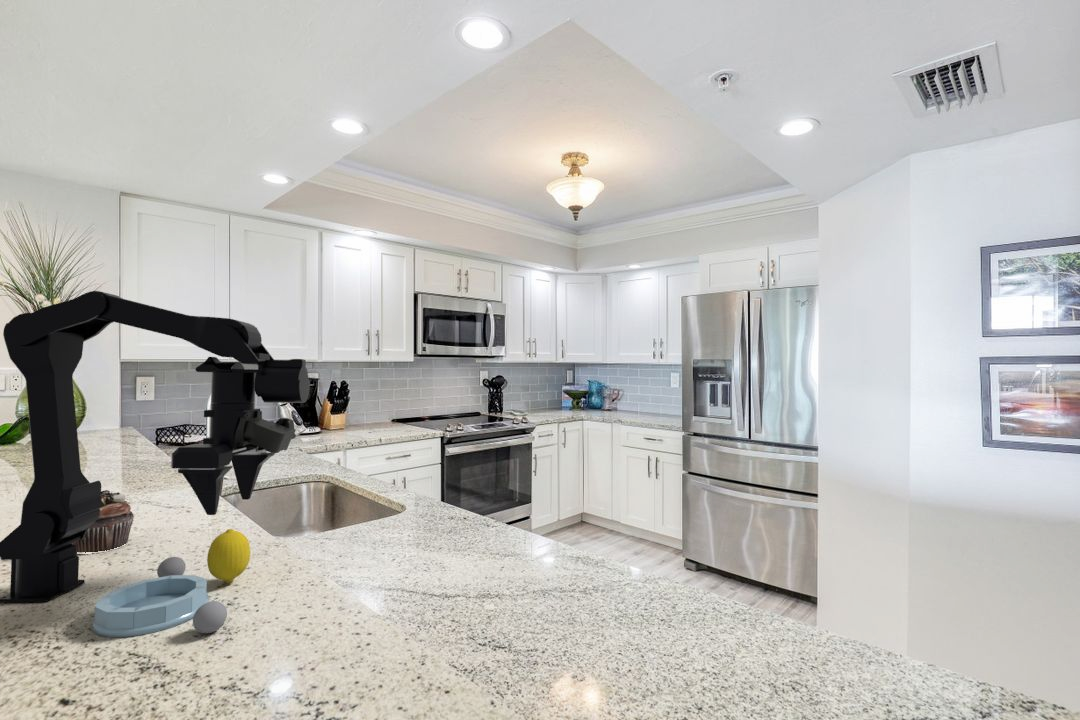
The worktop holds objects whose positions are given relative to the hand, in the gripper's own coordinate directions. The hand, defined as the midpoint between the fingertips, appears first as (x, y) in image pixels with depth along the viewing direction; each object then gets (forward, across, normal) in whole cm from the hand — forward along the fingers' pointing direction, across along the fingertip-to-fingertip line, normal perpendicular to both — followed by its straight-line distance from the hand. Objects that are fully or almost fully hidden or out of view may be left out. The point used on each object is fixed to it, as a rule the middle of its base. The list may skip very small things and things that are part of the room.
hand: (229, 506), depth 77 cm
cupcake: (+12, +17, +32) cm, 38 cm away
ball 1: (+11, +1, +9) cm, 15 cm away
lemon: (+12, 0, 0) cm, 12 cm away
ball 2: (+11, -15, -6) cm, 20 cm away
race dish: (+11, -10, +4) cm, 16 cm away
